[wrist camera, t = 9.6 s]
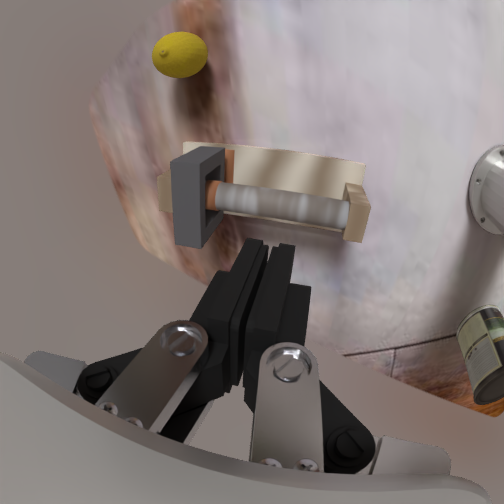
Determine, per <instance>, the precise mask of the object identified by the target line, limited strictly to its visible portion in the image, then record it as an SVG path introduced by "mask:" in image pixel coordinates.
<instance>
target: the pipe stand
mask: <svg viewBox="0 0 504 504" xmlns="http://www.w3.org/2000/svg"><path fill="white" fill-rule="evenodd" d="M200 146H209V147H223V148H225V170H224V182H222V181H215V180H208V181H206V180H205V209H207V210H215V211H219V210H222V211H223V213H224V214H231V215H238V216H245V217H251V218H258V219H264V220H271V221H277V222H283V223H289V224H296V225H302V226H307V227H313V228H319V229H325V230H331V231H336V232H342V237H343V240H348V241H353V242H359V243H362V239H363V236H364V232H365V228H366V225H367V221H368V217H369V213H370V209H371V206H370V203H369V201H368V199H367V196H366V194H365V192H364V189H363V187H362V183H363V178H364V173H365V167H366V165H365V164H364V163H359V162H354V161H349V160H344V159H338V158H333V157H327V156H321V155H315V154H309V153H302V152H295V151H288V150H281V149H272V148H264V147H255V146H244V145H233V144H220V143H204V142H184V143H183V155H184V154H186V153H188V152H190V151H192V150H194V149H196V148H198V147H200ZM157 188H158V201H159V211H163V212H170V213H173V209H172V192H171V169H170V170H168V171H166V172H165V173H163V174H161V175H160V176H158V177H157Z"/></svg>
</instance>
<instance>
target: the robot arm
mask: <svg viewBox="0 0 504 504" xmlns="http://www.w3.org/2000/svg"><path fill="white" fill-rule="evenodd" d="M476 180H477V181H476ZM469 200H470V207H471V210H472V214H473V216H474V218H475V220H476V221H477V222H478V224H479V225H480V226H481V227H482V228H483V229H484V230H486V231H487V232H489V233H492V234H497V235H501V234H503V235H504V145H499V146H496V147H493V148H491V149H490V150H488V151H487V152H486V153H485V154H484V155H483V156H482V157H481V158H480V160H479V161H478V163H477V165H476V167H475V169H474V171H473V174H472V177H471V181H470V188H469ZM268 249H269V246H268V245H263V240H257V239H251V238H247V239H246V241H245V243H244V245H243V247H242V249H241V251H240V253H239V255H238V257H237V258H236V260H235V262H234V264H233V266H232V268H231V270H230V272H226V271H220V270H219V271H217V273H216V274H215V276H214V277H213V279H212V281H211V283H210V284H209V286H208V288H207V290H206V292H205V293H204V295H203V297H202V299H201V300H200V302H199V304H198V306H197V307H196V309H195V311H194V313H193V315H192V317H191V318H190V320H189V321H188V320H177V321H173V322H170V323H168V324H166V325H164V326H163V327H161V328H160V329H159V330H158V331H157V332H156V334H155V335H154V336H153V337H152V338H151V339H150V341H149V342H148V343H147V344H146V345H145V347H143V348H140V349H137V350H134V351H131V352H128V353H125V354H122V355H118V356H115V357H111V358H108V359H105V360H102V361H98V362H95V363H93V364H90V365H86V363H85V362H84V361H80V360H75V359H71V358H67V357H63V356H59V355H55V354H51V353H47V352H44V351H36V352H33V353H31V354H30V355H29V356H28V357H27V358H26V359H25V361H24V362H22V361H20V360H19V359H17V358H15V357H13V356H10V355H8V354H5V353H1V352H0V504H492V502H491V499H490V496H489V495H488V493H487V491H486V490H485V489H484V488H483V487H481V486H480V485H479V484H477V483H475V482H473V481H470V480H467V479H465V478H462V477H456V476H451V475H450V469H451V459H450V457H449V455H448V453H447V452H446V451H445V450H444V449H443V448H440V447H438V446H432V445H426V444H421V443H416V442H411V441H406V440H401V439H397V438H393V437H389V436H385V435H384V436H383V437H381V438H380V437H376V436H373V435H372V434H371V433H370V431H369V430H368V429H367V428H366V427H365V426H364V425H363V424H362V423H361V422H360V421H359V420H358V419H357V418H356V417H355V416H354V415H353V414H352V413H351V412H350V411H349V410H348V409H347V408H346V407H345V406H344V405H343V404H342V403H341V402H340V401H339V400H338V399H337V398H336V397H335V396H334V394H333V393H332V392H331V391H330V390H329V389H327V387H326V386H325V385H324V384H323V383H322V382H321V381H320V380H319V372H318V363H317V360H316V357H315V356H314V355H313V353H312V352H311V351H310V350H308V349H307V348H306V347H304V343H305V337H306V329H307V321H308V313H309V304H310V295H311V286H305V285H299V284H293V283H290V279H291V273H292V266H293V260H294V253H295V246H294V245H288V244H282V243H280V244H279V247H275V246H273V248H272V251H271V254H270V257H269V260H268ZM267 260H268V262H267ZM242 373H243V387H244V388H245V395H244V401H245V402H246V404H247V405H248V407H249V408H250V409H251V411H252V412H253V421H252V433H251V442H250V452H249V462H248V461H243V460H239V459H235V458H230V457H227V456H223V455H219V454H215V453H212V452H208V451H205V450H202V449H198V448H195V447H192V446H189V443H190V442H191V440H192V438H193V437H194V435H195V434H196V432H197V430H198V429H199V427H200V425H201V424H202V422H203V420H204V419H205V417H206V415H207V413H208V412H209V410H210V408H211V407H212V405H213V402H214V399H217V398H219V397H221V396H224V393H225V392H227V393H230V390H231V387H232V385H235V386H238V385H239V381H240V379H241V376H242Z"/></svg>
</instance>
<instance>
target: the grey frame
mask: <svg viewBox="0 0 504 504" xmlns="http://www.w3.org/2000/svg"><path fill="white" fill-rule="evenodd" d="M170 169H171V192H172V209H173V223H174V236H175V244H176V245H182V246H187V247H193V248H198V249H202V247H203V246H204V244H205V243H206V242H207V240H208V239H209V237H210V236H211V235H212V233H213V232H214V230H215V229H216V228H217V226H218V225H219V224H220V222H221V221H222V219H223V211H222V210H219V211H215V210H207V209H205V180H206V181H208V180H215V181H222V182H224V170H225V148H223V147H209V146H200V147H198V148H196V149H194V150H192V151H190V152H188V153H186V154H184V155H182V156H180V157H178V158H176V159H174V160H172V161H170Z"/></svg>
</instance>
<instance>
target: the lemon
mask: <svg viewBox="0 0 504 504" xmlns="http://www.w3.org/2000/svg"><path fill="white" fill-rule="evenodd" d="M207 57H208V50H207V47H206V45H205V43H204V41H203V40H202V39H200V38H199V37H198V36H196V35H194V34H192V33H187V32H174V33H171V34H168V35H166V36H164V37H163V38H161V39H160V40H159V41H158V42H157V43H156V45H155V46H154V49H153V52H152V61H153V64H154V66H155V67H156V68H157V70H158V71H160V72H161V73H162V74H164V75H166V76H169V77H173V78H184V77H189V76H191V75H194V74H196V73H197V72H199V71H200V70H201V69H202V68H203V67H204V65H205V63H206V61H207Z"/></svg>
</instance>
